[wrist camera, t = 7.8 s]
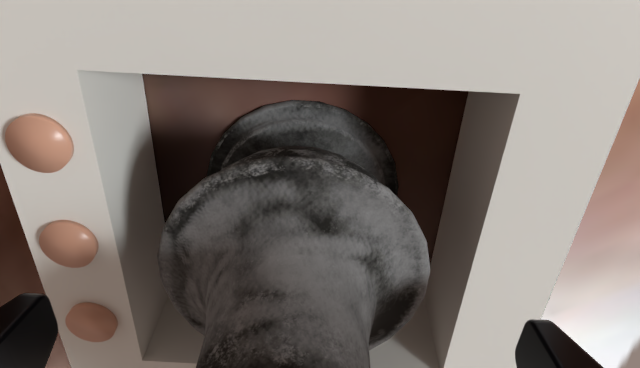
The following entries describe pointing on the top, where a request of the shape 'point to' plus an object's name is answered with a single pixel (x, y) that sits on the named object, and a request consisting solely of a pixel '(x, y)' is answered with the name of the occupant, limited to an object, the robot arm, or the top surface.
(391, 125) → the top surface
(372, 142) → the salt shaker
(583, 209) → the socket block
